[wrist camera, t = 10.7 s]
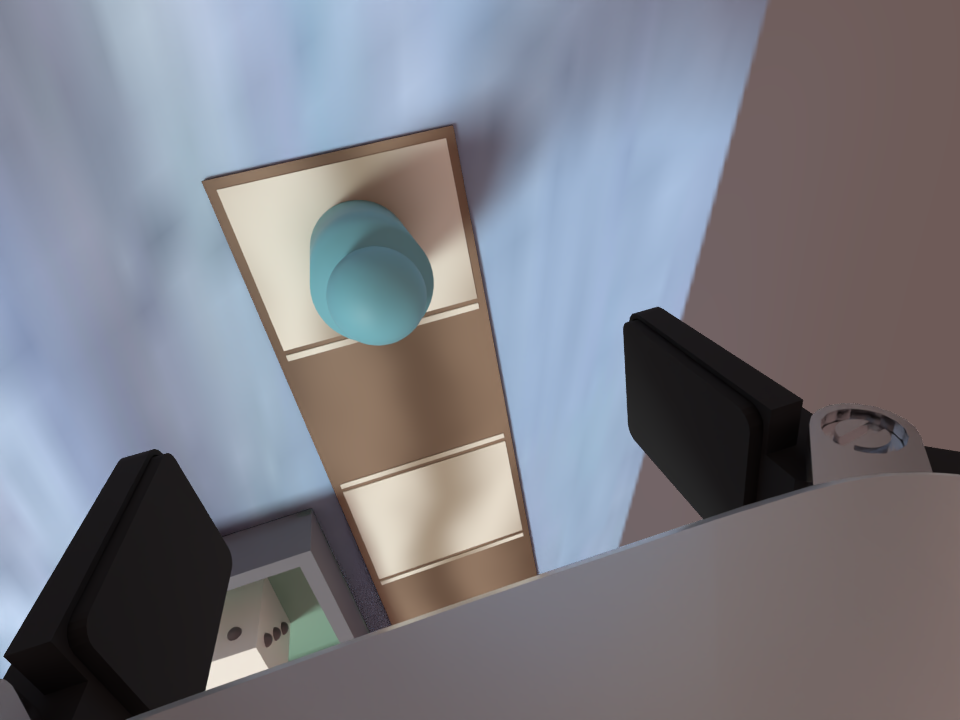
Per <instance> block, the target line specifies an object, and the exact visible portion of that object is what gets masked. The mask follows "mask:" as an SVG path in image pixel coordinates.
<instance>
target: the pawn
mask: <svg viewBox="0 0 960 720" xmlns="http://www.w3.org/2000/svg"><path fill="white" fill-rule="evenodd" d="M433 289H434V278H433V271H432V268H431V264H430V262H429V260H428V257H427V256H426V254H425V252H424V251H423V250H422V248H421V247H420V246H419V244H418V243H417V242H416V241H415V239H414V238H413V237H412V235H411V234H410V233H409V232H408V230H407V229H406V228H405V227H404V225H403V224H402V223H401V221H400V220H399V219H398V218H397V217H396V216H395V215H394V214H393V213H392V212H391V211H390V210H388V209H387V208H385V207H384V206H382V205H380V204H377V203H375V202H371V201H366V200H351V201H346V202H342V203H340V204H337V205H335V206H333V207H332V208H330V209H329V210H328V211H326V212H325V213H324V214H323V215H322V216H321V217H320V219H319V220H318V221H317V223H316V225H315V227H314V229H313V232H312V235H311V239H310V292H311V297H312V301H313V304H314V306H315V308H316V310H317V312H318V314H319V315H320V317H321V318H322V319H323V321H324V322H325V323H326V324H327V325H328V326H329V327H330V328H332V329H333V330H334V331H336V332H337V333H339V334H341V335H342V336H344V337H347V338H349V339H352V340H356V341H358V342H361V343H364V344H368V345H377V346H380V345H388V344H392V343H395V342H397V341H400V340H402V339H403V338H405V337H406V336H408V335H409V334H410V333H411V332H412V331H413V330H414V329H415V328H416V327H417V325H418V324H419V322H420V321H421V319H422V317H423V316H424V315H425V313H426V311H427V309H428V307H429V305H430V303H431V299H432V296H433Z"/></svg>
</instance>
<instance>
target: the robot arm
mask: <svg viewBox="0 0 960 720" xmlns="http://www.w3.org/2000/svg"><path fill="white" fill-rule="evenodd" d="M623 335H624V355H625V374H626V394H627V413H628V427H629V430H630V433H631V435H632V437H633V439H634V440H635V441H636V443H637V444H638V445H639V446H640V447H641V448H642V449H643V451H644V452H645V453H646V454H647V455H648V456H649V457H650V459H651V460H652V461H653V462H654V463H655V464H656V465H657V467H658V468H659V469H660V470H661V471H662V472H663V473H664V475H665V476H666V477H667V478H668V479H669V480H670V482H671V483H672V484H673V485H674V486H675V487H676V488H677V490H678V491H679V492H680V493H681V494H682V495H683V496H684V498H685V499H686V500H687V501H688V502H689V503H690V504H691V506H692V507H693V508H694V509H695V510H696V511H697V512H698V513H699V515H700V516H701V517H702V518H703V520H700V521H697V522H694V523H690V524H688V525H684V526H681V527H678V528H675V529H672V530H669V531H667V532H664V533H661V534H658V535H655V536H652V537H649V538H646V539H643V540H640V541H637V542H634V543H631V544H628V545H625V546H622V547H619V548H616V549H613V550H610V551H607V552H604V553H601V554H598V555H596V556H593V557H590V558H587V559H584V560H581V561H578V562H575V563H572V564H569V565H566V566H563V567H560V568H557V569H554V570H551V571H548V572H545V573H542V574H540V575H537V576H534V577H531V578H528V579H525V580H522V581H519V582H516V583H513V584H510V585H508V586H505V587H502V588H499V589H496V590H493V591H490V592H487V593H484V594H481V595H478V596H475V597H473V598H470V599H467V600H464V601H461V602H458V603H455V604H452V605H449V606H446V607H444V608H441V609H438V610H435V611H432V612H429V613H426V614H423V615H420V616H418V617H415V618H412V619H409V620H406V621H403V622H400V623H397V624H394V625H392V626H389V627H386V628H383V629H380V630H377V631H374V632H371V633H368V634H366V635H363V636H360V637H357V638H354V639H351V640H349V641H346V642H343V643H340V644H337V645H334V646H331V647H329V648H326V649H323V650H320V651H317V652H314V653H311V654H309V655H306V656H303V657H300V658H297V659H294V660H291V661H289V662H286V663H283V664H280V665H277V666H274V667H272V668H269V669H266V670H263V671H260V672H257V673H254V674H252V675H249V676H246V677H243V678H240V679H237V680H234V681H232V682H229V683H226V684H223V685H220V686H217V687H215V688H212V689H209V690H206V686H207V681H208V677H209V672H210V667H211V663H212V658H213V654H214V649H215V644H216V640H217V635H218V631H219V626H220V621H221V617H222V612H223V607H224V603H225V598H226V594H227V589H228V584H229V580H230V575H231V571H232V556H231V552H230V550H229V548H228V546H227V544H226V543H225V541H224V539H223V538H222V536H221V534H220V533H219V531H218V529H217V528H216V526H215V524H214V523H213V521H212V519H211V518H210V516H209V514H208V513H207V511H206V509H205V508H204V506H203V504H202V503H201V501H200V499H199V498H198V496H197V494H196V493H195V491H194V489H193V488H192V486H191V484H190V483H189V481H188V479H187V478H186V476H185V474H184V473H183V471H182V469H181V468H180V466H179V464H178V463H177V461H176V459H175V458H174V457H173V456H172V455H171V454H169V453H166V454H162V453H161V452H160V451H159V450H156V449H153V450H149V451H146V452H142V453H139V454H135V455H132V456H128V457H125V458H122V459H121V460H120V461H119V462H118V463H117V465H116V467H115V468H114V470H113V472H112V473H111V475H110V477H109V478H108V480H107V482H106V484H105V485H104V487H103V489H102V490H101V492H100V494H99V495H98V497H97V499H96V500H95V502H94V504H93V506H92V507H91V509H90V511H89V512H88V514H87V516H86V517H85V519H84V521H83V522H82V524H81V526H80V528H79V529H78V531H77V533H76V534H75V536H74V538H73V539H72V541H71V543H70V544H69V546H68V548H67V550H66V551H65V553H64V555H63V556H62V558H61V560H60V561H59V563H58V565H57V566H56V568H55V570H54V572H53V573H52V575H51V577H50V578H49V580H48V582H47V583H46V585H45V587H44V588H43V590H42V592H41V593H40V595H39V597H38V599H37V600H36V602H35V604H34V605H33V607H32V609H31V610H30V612H29V614H28V615H27V617H26V619H25V621H24V622H23V624H22V626H21V627H20V629H19V631H18V632H17V634H16V636H15V637H14V639H13V641H12V643H11V644H10V646H9V648H8V649H7V651H6V653H5V654H4V656H3V657H4V658H6V659H7V660H8V661H9V662H10V663H11V666H10V667H9V669H8V671H7V673H6V674H5V676H4V678H3V679H0V720H960V452H958V451H951V450H945V449H938V448H932V447H926V446H924V444H923V441H922V437H921V435H920V434H919V432H918V431H917V429H916V427H915V426H913V425H912V424H911V423H909V422H908V421H907V420H906V419H904V418H902V417H900V416H898V415H896V414H894V413H892V412H890V411H887V410H883V409H881V408H878V407H874V406H868V405H862V404H844V403H843V404H835V405H829V406H826V407H824V408H821V409H819V410H817V411H816V412H815V413H814V414H812V413H810V412H809V411H807V410H805V409H804V408H803V407H802V404H803V399H801V398H800V397H798V396H796V395H795V394H793V393H792V392H790V391H789V390H787V389H786V388H784V387H782V386H781V385H779V384H778V383H776V382H775V381H773V380H772V379H770V378H769V377H767V376H766V375H764V374H762V373H761V372H759V371H758V370H756V369H755V368H753V367H752V366H750V365H749V364H747V363H745V362H744V361H742V360H741V359H739V358H738V357H736V356H735V355H733V354H731V353H730V352H728V351H727V350H725V349H724V348H722V347H721V346H719V345H717V344H716V343H715V342H713V341H712V340H710V339H708V338H707V337H705V336H704V335H702V334H701V333H699V332H697V331H696V330H694V329H693V328H691V327H690V326H688V325H687V324H685V323H684V322H682V321H681V320H679V319H678V318H676V317H674V316H673V315H671V314H670V313H668V312H667V311H665V310H664V309H662V308H660V307H655V308H652V309H648V310H644V311H641V312H637V313H634V314H632V315H631V317H630V320H629V322H626V323H625V324H624V327H623ZM205 690H206V691H205Z"/></svg>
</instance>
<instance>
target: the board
mask: <svg viewBox="0 0 960 720" xmlns="http://www.w3.org/2000/svg"><path fill="white" fill-rule="evenodd" d="M202 184H203V186H204V188H205V191H206V193H207V195H208V198H209V200H210V202H211V205H212V207H213V209H214V212H215V214H216V216H217V219H218V221H219V223H220V226H221V228H222V230H223V233H224V235H225V237H226V240H227V242H228V244H229V247H230V249H231V251H232V254H233V256H234V258H235V261H236V263H237V265H238V268H239V270H240V272H241V275H242V277H243V279H244V282H245V284H246V286H247V289H248V291H249V293H250V296H251V298H252V300H253V303H254V305H255V307H256V310H257V312H258V314H259V317H260V319H261V321H262V324H263V326H264V328H265V331H266V333H267V335H268V337H269V340H270V342H271V344H272V347H273V349H274V351H275V354H276V356H277V358H278V361H279V363H280V365H281V368H282V370H283V372H284V375H285V377H286V379H287V382H288V384H289V386H290V389H291V391H292V393H293V396H294V398H295V400H296V403H297V405H298V407H299V410H300V412H301V414H302V417H303V419H304V421H305V424H306V426H307V428H308V431H309V433H310V435H311V438H312V440H313V442H314V445H315V447H316V449H317V452H318V454H319V456H320V459H321V461H322V463H323V466H324V468H325V470H326V473H327V475H328V477H329V480H330V482H331V484H332V487H333V489H334V491H335V494H336V496H337V498H338V501H339V503H340V505H341V508H342V510H343V512H344V515H345V517H346V519H347V522H348V524H349V526H350V529H351V531H352V533H353V536H354V538H355V540H356V543H357V545H358V547H359V550H360V552H361V554H362V557H363V559H364V561H365V564H366V566H367V568H368V571H369V573H370V575H371V578H372V580H373V582H374V585H375V587H376V589H377V592H378V594H379V596H380V599H381V601H382V603H383V606H384V608H385V610H386V613H387V615H388V617H389V620H390V622H391V624H392V625H394V624H397V623H400V622H403V621H406V620H409V619H412V618H415V617H418V616H420V615H423V614H426V613H429V612H432V611H435V610H438V609H441V608H444V607H446V606H449V605H452V604H455V603H458V602H461V601H464V600H467V599H470V598H473V597H475V596H478V595H481V594H484V593H487V592H490V591H493V590H496V589H499V588H502V587H505V586H508V585H510V584H513V583H516V582H519V581H522V580H525V579H528V578H531V577H534V576H537V572H536V567H535V562H534V556H533V551H532V546H531V540H530V535H529V529H528V524H527V519H526V513H525V508H524V503H523V497H522V492H521V487H520V481H519V476H518V471H517V465H516V460H515V454H514V449H513V444H512V438H511V433H510V428H509V422H508V417H507V412H506V406H505V401H504V396H503V390H502V385H501V379H500V374H499V369H498V363H497V358H496V353H495V347H494V342H493V337H492V331H491V326H490V320H489V315H488V310H487V304H486V299H485V294H484V288H483V283H482V278H481V272H480V267H479V262H478V256H477V251H476V245H475V240H474V235H473V229H472V224H471V219H470V213H469V208H468V203H467V197H466V192H465V187H464V181H463V176H462V170H461V165H460V160H459V154H458V149H457V144H456V138H455V133H454V128H453V125H451V126H446V127H442V128H437V129H433V130H429V131H424V132H420V133H415V134H411V135H406V136H402V137H397V138H393V139H388V140H384V141H379V142H375V143H370V144H366V145H361V146H357V147H352V148H348V149H343V150H339V151H334V152H330V153H325V154H321V155H316V156H312V157H307V158H303V159H298V160H294V161H289V162H285V163H280V164H276V165H271V166H267V167H262V168H258V169H254V170H249V171H245V172H240V173H236V174H231V175H227V176H222V177H218V178H213V179H209V180H204V181H202ZM351 200H366V201H371V202H375V203H377V204H380V205H382V206H384V207H385V208H387V209H388V210H390V211H391V212H392V213H393V214H394V215H395V216H396V217H397V218H398V219H399V220H400V221H401V223H402V224H403V225H404V227H405V228H406V229H407V230H408V232H409V233H410V234H411V235H412V237H413V238H414V239H415V241H416V242H417V243H418V244H419V246H420V247H421V248H422V250H423V251H424V252H425V254H426V256H427V257H428V260H429V262H430V264H431V268H432V271H433V278H434V289H433V296H432V299H431V303H430V305H429V307H428V309H427V311H426V313H425V315H424V316H423V317H422V319H421V321H420V322H419V324H418V325H417V327H416V328H415V329H414V330H413V331H412V332H411V333H410V334H409V335H408V336H406V337H405V338H403V339H402V340H400V341H397V342H395V343H392V344H388V345H380V346H377V345H368V344H364V343H361V342H358V341H356V340H352V339H349V338H347V337H344V336H342V335H341V334H339V333H337V332H336V331H334V330H333V329H332V328H330V327H329V326H328V325H327V324H326V323H325V322H324V321H323V319H322V318H321V317H320V315H319V314H318V312H317V310H316V308H315V306H314V304H313V301H312V297H311V292H310V239H311V235H312V232H313V229H314V227H315V225H316V223H317V221H318V220H319V219H320V217H321V216H322V215H323V214H324V213H325V212H326V211H328V210H329V209H330V208H332V207H333V206H335V205H337V204H340V203H342V202H346V201H351Z"/></svg>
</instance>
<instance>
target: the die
mask: <svg viewBox="0 0 960 720" xmlns="http://www.w3.org/2000/svg"><path fill="white" fill-rule="evenodd" d="M290 624H291V623H290V621H289V619H288V617H287V615H286V613H285V611H284V609H283V607H282V605H281V604H280V602H279V600H278V598H277V596H276V594H275V592H274V590H273V588H272V586H271V584H270V582H269V580H268V578H264V579H261V580H258V581H255V582H252V583H250V584H247V585H244V586H241V587H238V588H235V589H232V590H229V591H227V594H226V598H225V603H224V607H223V612H222V617H221V621H220V626H219V631H218V635H217V640H216V644H215V649H214V654H213V658H212V663H211V667H210V672H209V677H208V681H207V686H206V690H209V689H212V688H215V687H217V686H220V685H223V684H226V683H229V682H232V681H234V680H237V679H240V678H243V677H246V676H249V675H252V674H254V673H257V672H260V671H263V670H266V669H269V668H272V667H274V666H277V665H280V664H283V663H286V662H288V657H289V640H290ZM206 690H205V691H206Z"/></svg>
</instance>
